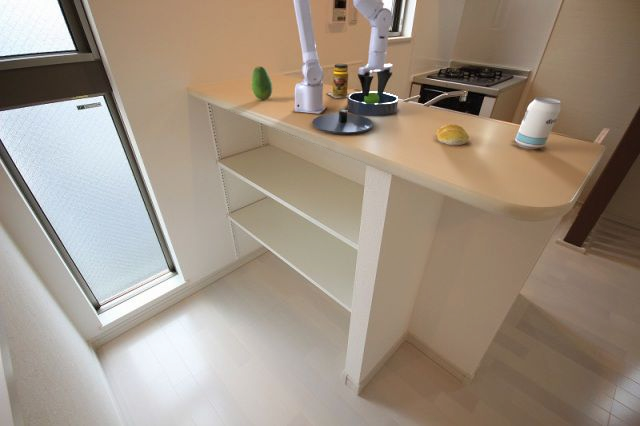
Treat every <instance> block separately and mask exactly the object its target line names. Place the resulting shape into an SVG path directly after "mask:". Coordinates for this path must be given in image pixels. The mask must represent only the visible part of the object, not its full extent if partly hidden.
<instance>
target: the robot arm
mask: <svg viewBox="0 0 640 426" xmlns="http://www.w3.org/2000/svg"><path fill="white" fill-rule="evenodd" d="M352 3H353V4H352V5H353V7H354V8H355V9H356V10H357V11H358V13H360V15H362V16H363V17H364V18H365V19H366V20H367V21H369V25H370V27H371V29H370V36H369V37H370V38H369V49H368V59H367V64H365V66H360V67H358V73H357V77H358V80H359V82H360V86H361V89H362V90H361V92H363V96H368V95H369V92H371V85H372V81H373V79H374V77H375V76H374V75H371V74H373V73H376V75H377V92H378V93H385V90H386V86H387V84H388V82H389V80H390V78H391V77H392V76H393V71H392V70H393V64H391V63H386V59H387V52H388V50H387V49H388V43H389V35H390V33H389V32H390V28H391V27H392V25H393V24H394V18H393V13H392V11H391V10H390V9H389V8H386V7H384V5H385V3H384V2H383V1H380V0H352ZM293 6H294V12H295V18H296V23H297V30H298V35H299V41H300V48H301V53H302V54H301V55H302V67H301V73H302V76H303V77H304V78H303V80H302V81H301V82H297V83H296V84H295V86H294V87H295V88H294V112H297V113H306V114H307V113H308V114H318V115H320V114H322V113H323V112H324V111H325V110H326V108H327V107H326V106H323V105H324V104H323V103H324V102H323V101H324V99H323V97H324V82H323V79H324V74H325V73H324V70H323V68H322V67H321V66H322V65H320V60H319V56H318V51H317V45H316V44H317V43H316V38H315V29H314V24H313V18H312V17H313V16H312V10H311V4H310V0H293Z"/></svg>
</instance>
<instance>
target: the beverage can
mask: <svg viewBox="0 0 640 426" xmlns="http://www.w3.org/2000/svg"><path fill="white" fill-rule="evenodd" d="M561 110H562V107H561V101H560V100H558V99H556V98H550V97H535V98H534V100H533V101H531V102H530V103H529V105H528V106H527V109H526V111H525V113H524V116H523V118H522V121H521V123H520V126H519V128H518V131H517V134H516V137H515V139H514V141H515V143H516V144H517V146H518V147H521V148H523V149H526V150H527V149H528V150H538V149H539V148H543V147H544V146H545V145H546V143H547V140H548V139H549V136H550V134H551V132H552V130H553V128H554V127H555V124H556V122H557V119H558V117H559V115H560V112H561Z"/></svg>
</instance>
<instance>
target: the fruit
mask: <svg viewBox="0 0 640 426" xmlns="http://www.w3.org/2000/svg"><path fill="white" fill-rule="evenodd" d="M251 90H252V92H253V94H254V96H255V97H256V98H257V99H258V100H261V101H265V100H268V99H269V98H270V97H271V96H272V94H273V82H272V79H271V78H270V75H269V73H268V71H267V70H266V68H265V67H263V66H260V65H259V66H256V67H255V68H254V69H253V72H252V79H251Z"/></svg>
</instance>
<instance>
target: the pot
mask: <svg viewBox="0 0 640 426" xmlns="http://www.w3.org/2000/svg"><path fill="white" fill-rule="evenodd" d="M374 92H375V93H377V94H378V96H379V103H378V104H372V103H364V97H365V96H363V92H362V91H358V92H352V93H350V94H347V95H348V97H347V101H346V110H347V111H349V112H350V113H352V114H355V115H360V116H366V117H367V116H368V117H369V116H370V117H383V116H385V117H386V116H390V115H393V114H395V113H397V110H398V105H399V104H398V103H399V98H398V96H396V95H393V94H390V93H386V92H383V93H378V91H374Z"/></svg>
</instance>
